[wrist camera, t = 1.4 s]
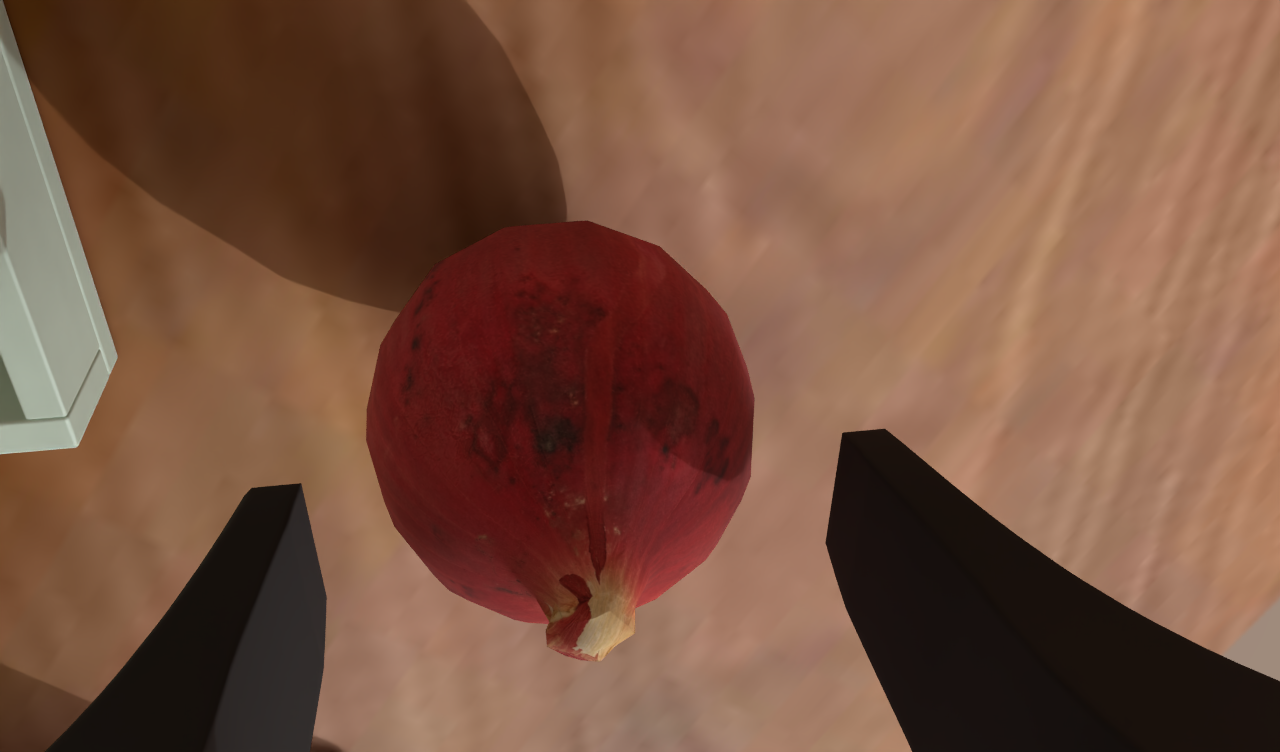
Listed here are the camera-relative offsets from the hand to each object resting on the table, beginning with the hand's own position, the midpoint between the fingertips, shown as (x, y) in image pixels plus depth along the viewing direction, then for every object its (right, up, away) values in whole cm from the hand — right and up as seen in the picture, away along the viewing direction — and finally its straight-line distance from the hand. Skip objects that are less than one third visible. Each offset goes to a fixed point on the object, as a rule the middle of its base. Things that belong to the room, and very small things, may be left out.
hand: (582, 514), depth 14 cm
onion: (-1, +3, +5) cm, 6 cm away
